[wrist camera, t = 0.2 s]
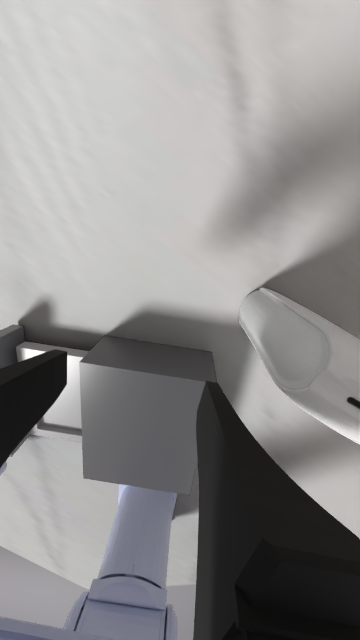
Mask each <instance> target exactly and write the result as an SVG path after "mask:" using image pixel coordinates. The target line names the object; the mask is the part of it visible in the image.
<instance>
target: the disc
mask: <svg viewBox="0 0 360 640" xmlns="http://www.w3.org/2000/svg"><path fill="white" fill-rule="evenodd" d="M6 466H7V464H6V461H5V463H4V464H3V465H2V467H1V468H0V475H1V474H2V473H3V472H4V471H5V469H6Z"/></svg>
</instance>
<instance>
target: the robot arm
mask: <svg viewBox="0 0 360 640" xmlns="http://www.w3.org/2000/svg"><path fill="white" fill-rule="evenodd" d="M66 385H67V351H62V350H57V349H54V350H51V351H48V352H45V353H42V354H39V355H37V356H34V357H31V358H28V359H26V360H23V361H20V362H18V363H15V364H12V365H9V366H6V367H3V368H0V468H1V467H2V465H3V464H4V463H5V461H6V460H7V458H8V457H9V456H10V454H11V453H12V452H13V451H14V449H15V448H16V447H17V446H18V444H19V443H20V442H21V441H22V440H23V439H24V437H25V436H26V435H27V434H28V433H29V432H30V431H31V429H32V428H33V427H34V426H35V425H36V424H37V423H38V421H39V420H40V419H41V418H42V417H43V416H44V415H45V413H46V412H47V411H48V410H49V409H50V408H51V406H52V405H53V404H54V403H55V402H56V400H57V399H58V397H59V396H60V394H61V393H62V391H63V390H64V388H65V387H66ZM196 441H197V457H198V472H199V528H198V557H197V581H196V601H195V619H194V637H193V640H360V539H359V538H358V537H357V536H356V535H355V534H353V533H352V532H351V531H350V530H349V529H347V528H346V527H345V526H344V525H343V524H341V523H340V522H339V521H338V520H337V519H335V518H334V517H333V516H332V515H331V514H329V513H328V512H327V511H326V510H325V509H323V508H322V507H321V506H320V505H319V504H318V503H317V502H316V501H314V500H313V499H312V498H311V497H310V496H309V495H308V494H307V493H306V492H305V491H304V490H302V489H301V488H300V487H299V486H298V485H297V484H296V483H295V482H294V481H293V480H292V479H291V478H290V477H289V476H288V475H287V474H286V473H285V472H284V471H283V470H282V469H281V468H280V467H279V466H278V465H277V464H276V463H275V462H274V460H273V459H272V458H271V457H270V456H269V455H268V454H267V453H266V451H265V450H264V449H263V448H262V447H261V446H260V444H259V443H258V442H257V441H256V440H255V438H254V437H253V436H252V435H251V433H250V432H249V431H248V429H247V428H246V426H245V425H244V424H243V422H242V421H241V420H240V418H239V417H238V415H237V414H236V412H235V410H234V409H233V407H232V406H231V404H230V403H229V401H228V399H227V398H226V396H225V394H224V393H223V391H222V389H221V388H220V386H219V384H218V383H215V382H210V381H206V382H205V386H204V389H203V392H202V396H201V399H200V402H199V406H198V409H197V418H196ZM177 494H178V493H172V492H166V491H159V490H153V489H147V488H141V487H135V486H128V485H122V484H119V498H118V508H117V512H116V515H115V519H114V522H113V526H112V529H111V533H110V536H109V540H108V543H107V547H106V550H105V554H104V557H103V561H102V564H101V568H100V571H99V575H98V578H97V579H93V581H92V585H91V588H90V592H83V594H82V595H81V596H80V597H79V598H78V599H77V601H76V602H75V603H74V605H73V606H72V608H71V611H70V613H69V615H68V618H67V620H66V623H65V625H64V628H63V629H62V628H57V627H51V626H46V625H41V624H36V623H31V622H25V621H20V620H15V619H9V618H4V617H0V640H177V615H176V613H175V611H174V610H173V605H171V604H167V607H166V598H167V590H166V577H167V565H168V553H169V540H170V528H171V521H172V517H173V512H174V508H175V503H176V498H177ZM165 611H166V614H165Z"/></svg>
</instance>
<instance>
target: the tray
mask: <svg viewBox="0 0 360 640" xmlns="http://www.w3.org/2000/svg"><path fill="white" fill-rule="evenodd" d="M54 349H57V350H62V351H67V385H66V387H65V388H64V390H63V391H62V393H61V394H60V396H59V397H58V399H57V400H56V402H55V403H54V404H53V405H52V406H51V408H50V409H49V410H48V411H47V412H46V413H45V415H44V416H43V417H42V418H41V419H40V420H39V421H38V423H37V424H36V425H35V426H34V427H33V428H32V429H31V431H30V432H29V433H28V434H27V435H26V436H25V437H24V439H23V440H22V441H21V442H20V443H19V444H18V446H17V447H16V448H15V449H14V451H13V452H12V453H11V454H10V456H9V457H12V455H13V454H14V453H15V452H16V451H17V450H18V448H19V447H20V446H21V445H22V444H23V443H24V441H25V440H26V439H27V438H28V437H29V435H30V434H31V435H38V436H44V437H50V438H56V439H63V440H69V441H75V442H81V443H82V423H81V397H80V371H79V362H80V361H81V360H82V359H83V358H84V357H85V356H86V354H87V353H88V352H89V351H84V350H78V349H71V348H65V347H58V346H52V345H46V344H39V343H33V342H26V341H25V337H24V330H23V326H19V325H11V326H9V327H7V328H5V329H3V330H0V368H3V367H6V366H9V365H12V364H15V363H18V362H20V361H23V360H26V359H28V358H31V357H34V356H37V355H39V354H42V353H45V352H48V351H51V350H54Z"/></svg>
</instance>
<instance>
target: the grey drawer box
mask: <svg viewBox="0 0 360 640" xmlns="http://www.w3.org/2000/svg"><path fill="white" fill-rule="evenodd" d="M79 371H80V397H81V423H82V450H83V476H84V478H85V479H91V480H97V481H104V482H110V483H116V484H122V485H128V486H135V487H141V488H147V489H153V490H159V491H166V492H172V493H178V494H184V495H190V491H191V487H192V483H193V479H194V475H195V471H196V467H197V463H198V457H197V441H196V418H197V409H198V406H199V402H200V399H201V396H202V392H203V389H204V386H205V382H206V381H210V382H215V383H217V380H216V374H215V368H214V362H213V356H212V352H207V351H201V350H194V349H188V348H181V347H175V346H169V345H162V344H156V343H149V342H143V341H136V340H130V339H123V338H117V337H111V336H104V337H103V338H102V339H101V340H100V341H99V342H98V343H97V344H96V345H95V346H94V347H93V348H92V349H91V350H90V351H89V352H88V353H87V354H86V356H85V357H84V358H83V359H82V360H81V361H80V362H79Z"/></svg>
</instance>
